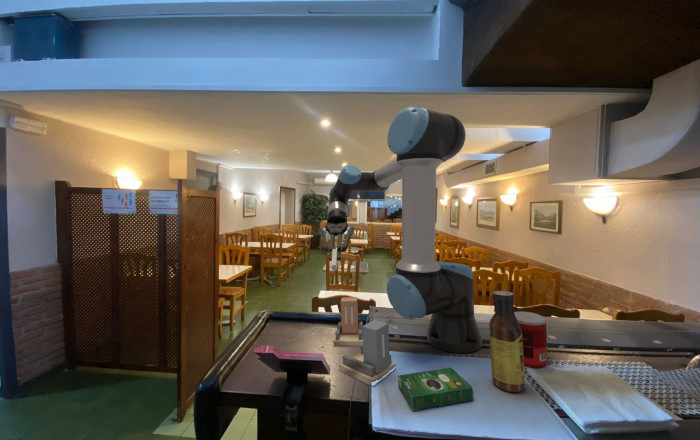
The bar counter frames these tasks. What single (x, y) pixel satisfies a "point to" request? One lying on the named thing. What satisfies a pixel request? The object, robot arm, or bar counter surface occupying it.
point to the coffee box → (434, 388)
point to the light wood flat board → (357, 357)
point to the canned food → (533, 338)
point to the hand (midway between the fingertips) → (334, 267)
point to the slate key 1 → (376, 345)
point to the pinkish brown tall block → (349, 315)
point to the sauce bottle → (506, 344)
